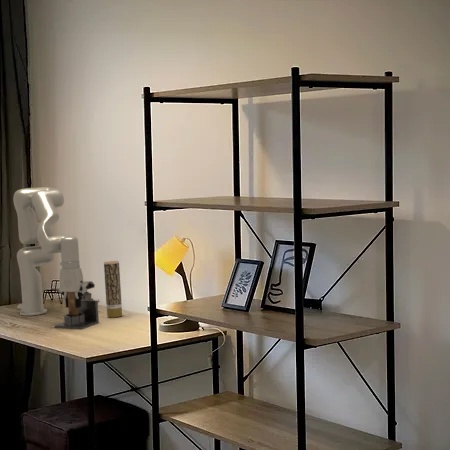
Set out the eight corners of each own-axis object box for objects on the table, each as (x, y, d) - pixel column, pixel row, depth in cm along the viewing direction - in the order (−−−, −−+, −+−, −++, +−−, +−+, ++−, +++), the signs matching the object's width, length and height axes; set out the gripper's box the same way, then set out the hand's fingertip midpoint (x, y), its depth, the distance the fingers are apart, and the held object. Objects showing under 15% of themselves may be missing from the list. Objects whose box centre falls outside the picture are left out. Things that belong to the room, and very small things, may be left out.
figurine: (83, 316, 378) (81, 283, 377) (70, 313, 387) (68, 281, 385) (100, 312, 384) (98, 281, 383) (87, 309, 393) (85, 278, 391)
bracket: (72, 321, 367) (71, 299, 366) (98, 323, 360) (97, 300, 360) (54, 327, 355) (52, 304, 354) (81, 329, 349) (79, 306, 348)
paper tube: (119, 317, 369) (116, 262, 367) (105, 318, 371) (101, 263, 368) (124, 314, 376) (121, 260, 374) (110, 314, 377) (106, 260, 375)
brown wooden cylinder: (66, 316, 355) (64, 283, 354) (73, 313, 359) (70, 282, 358) (75, 316, 353) (72, 284, 352) (81, 314, 357) (79, 282, 356)
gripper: (49, 266, 354) (52, 308, 356) (81, 266, 347) (84, 309, 348) (60, 263, 361) (63, 304, 363) (91, 264, 354) (94, 306, 355)
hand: (73, 306), depth 356 cm, fingers closed on brown wooden cylinder, 4 cm apart
